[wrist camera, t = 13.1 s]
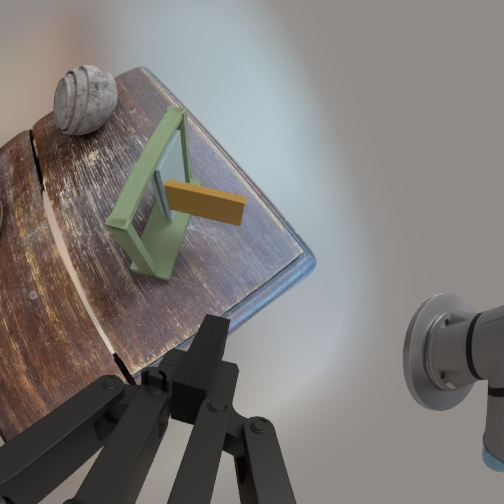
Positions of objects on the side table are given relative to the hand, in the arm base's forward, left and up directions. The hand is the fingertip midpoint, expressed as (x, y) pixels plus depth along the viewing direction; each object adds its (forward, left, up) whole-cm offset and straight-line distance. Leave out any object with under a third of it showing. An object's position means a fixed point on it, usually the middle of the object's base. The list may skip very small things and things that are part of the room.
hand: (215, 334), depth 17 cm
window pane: (+6, -19, -19) cm, 27 cm away
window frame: (+11, -16, -21) cm, 28 cm away
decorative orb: (+37, -35, -21) cm, 55 cm away
